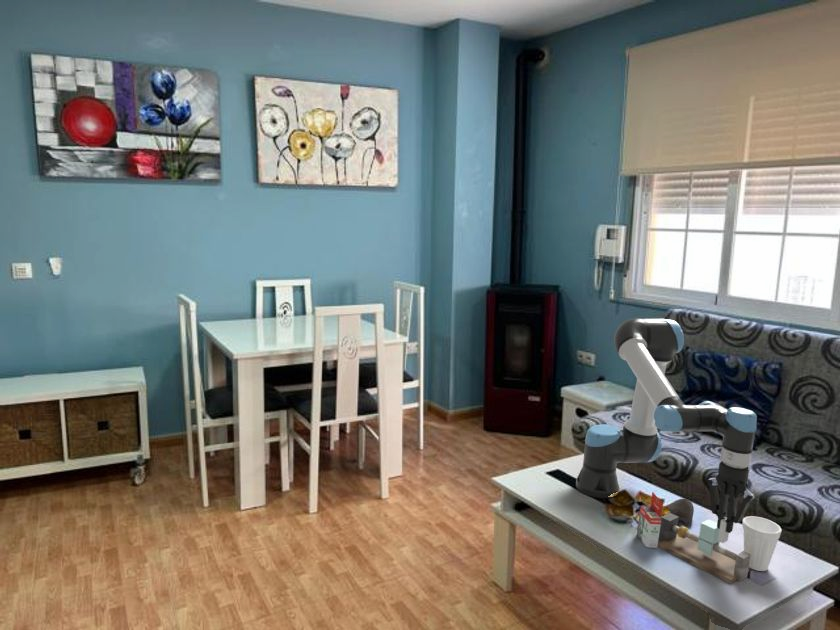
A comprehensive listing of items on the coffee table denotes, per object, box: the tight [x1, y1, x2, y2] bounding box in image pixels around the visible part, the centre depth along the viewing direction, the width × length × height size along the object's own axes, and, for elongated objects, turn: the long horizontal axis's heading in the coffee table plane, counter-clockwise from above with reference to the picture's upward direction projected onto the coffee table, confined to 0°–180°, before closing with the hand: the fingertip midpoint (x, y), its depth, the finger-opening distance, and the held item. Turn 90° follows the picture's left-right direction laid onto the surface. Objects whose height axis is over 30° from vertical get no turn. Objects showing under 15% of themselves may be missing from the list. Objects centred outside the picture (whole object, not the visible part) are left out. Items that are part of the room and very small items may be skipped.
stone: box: [666, 498, 695, 526], centre depth 203 cm, size 10×8×10 cm
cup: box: [741, 515, 783, 572], centre depth 177 cm, size 10×10×13 cm
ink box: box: [636, 491, 664, 549], centre depth 187 cm, size 4×8×15 cm, turn 2°
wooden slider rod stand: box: [657, 513, 751, 584], centre depth 180 cm, size 25×11×8 cm, turn 37°
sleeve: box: [697, 519, 721, 556], centre depth 178 cm, size 4×4×8 cm
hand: (722, 540), depth 175 cm, fingers closed
